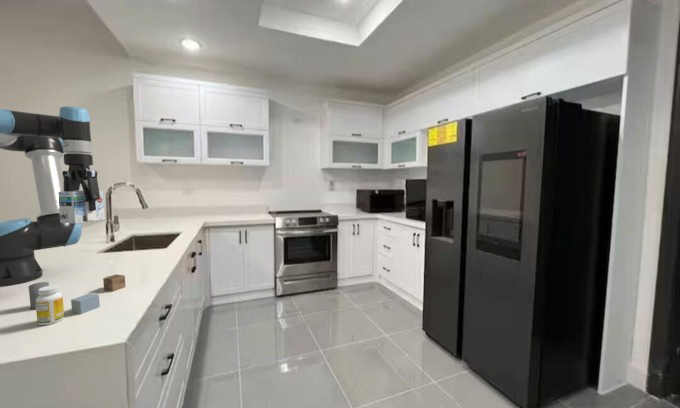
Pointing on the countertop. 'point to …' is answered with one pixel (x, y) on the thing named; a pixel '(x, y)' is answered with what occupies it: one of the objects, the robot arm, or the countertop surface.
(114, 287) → the walnut block
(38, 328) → the countertop surface
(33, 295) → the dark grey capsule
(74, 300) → the slate-blue block
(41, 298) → the supplement bottle
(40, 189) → the robot arm
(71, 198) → the light bulb box
